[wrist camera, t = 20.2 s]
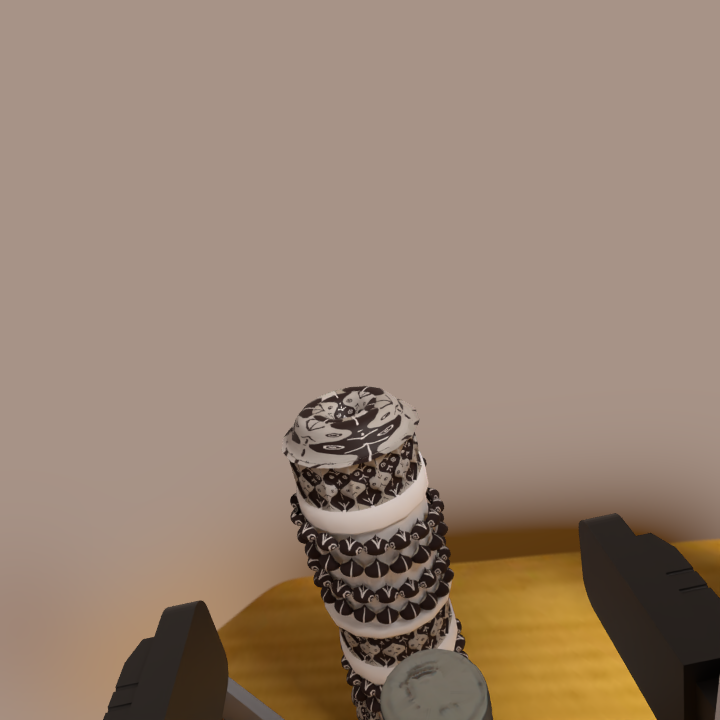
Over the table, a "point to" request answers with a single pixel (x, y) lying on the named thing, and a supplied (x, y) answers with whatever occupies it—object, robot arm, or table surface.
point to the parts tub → (245, 705)
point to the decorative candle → (372, 534)
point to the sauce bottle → (435, 689)
